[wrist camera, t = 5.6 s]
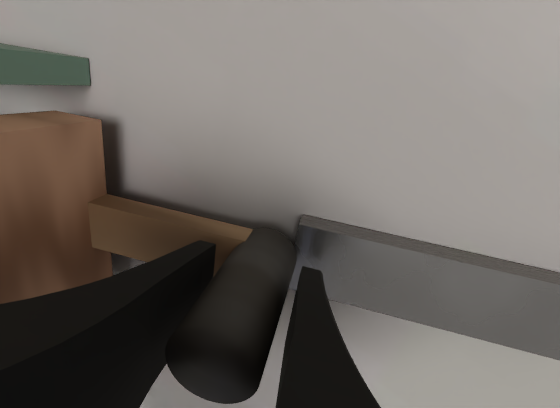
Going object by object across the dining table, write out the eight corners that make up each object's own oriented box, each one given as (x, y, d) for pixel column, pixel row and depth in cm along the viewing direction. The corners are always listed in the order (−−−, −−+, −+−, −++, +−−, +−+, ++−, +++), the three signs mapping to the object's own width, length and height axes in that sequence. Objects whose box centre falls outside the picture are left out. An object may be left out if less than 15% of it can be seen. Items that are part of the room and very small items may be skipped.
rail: (559, 343, 12) (576, 364, 11) (290, 274, 14) (286, 287, 13) (601, 282, 11) (624, 300, 10) (302, 214, 12) (299, 224, 11)
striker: (280, 339, 13) (241, 479, 8) (76, 280, 15) (-54, 372, 10) (316, 163, 10) (288, 229, 5) (54, 110, 12) (-150, 125, 7)
